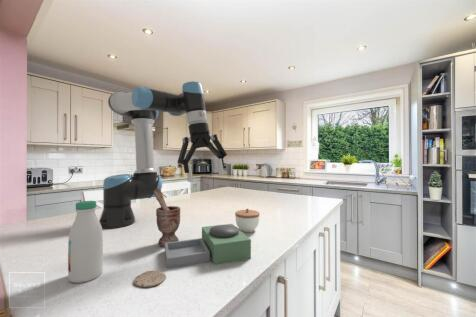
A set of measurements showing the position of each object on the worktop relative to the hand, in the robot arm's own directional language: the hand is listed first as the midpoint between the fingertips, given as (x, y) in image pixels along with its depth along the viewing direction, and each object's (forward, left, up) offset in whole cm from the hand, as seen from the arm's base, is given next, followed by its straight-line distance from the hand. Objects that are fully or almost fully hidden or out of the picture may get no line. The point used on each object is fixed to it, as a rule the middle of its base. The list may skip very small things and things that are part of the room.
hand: (206, 178), depth 86 cm
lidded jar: (-6, +20, -24) cm, 32 cm away
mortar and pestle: (-3, -15, -24) cm, 29 cm away
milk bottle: (+14, -36, -24) cm, 46 cm away
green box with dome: (+11, +4, -24) cm, 27 cm away
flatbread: (+22, -20, -25) cm, 39 cm away
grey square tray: (+11, -9, -24) cm, 28 cm away
